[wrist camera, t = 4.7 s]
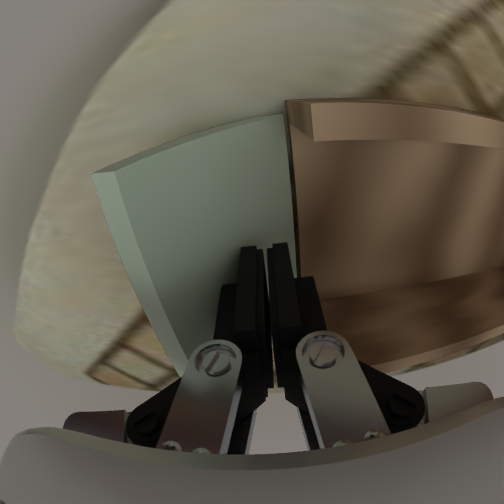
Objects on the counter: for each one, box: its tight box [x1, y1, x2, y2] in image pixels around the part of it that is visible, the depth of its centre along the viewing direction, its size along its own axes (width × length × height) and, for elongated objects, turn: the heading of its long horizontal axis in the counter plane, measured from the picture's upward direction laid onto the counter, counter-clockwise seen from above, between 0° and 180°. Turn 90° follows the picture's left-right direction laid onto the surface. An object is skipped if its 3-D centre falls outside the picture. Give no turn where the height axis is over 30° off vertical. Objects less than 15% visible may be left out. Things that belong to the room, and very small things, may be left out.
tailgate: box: [91, 115, 297, 378], centre depth 11 cm, size 2×11×8 cm
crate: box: [285, 98, 504, 373], centre depth 11 cm, size 18×12×6 cm, turn 98°
